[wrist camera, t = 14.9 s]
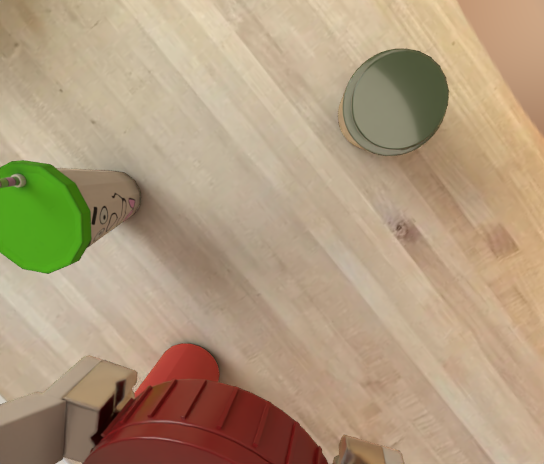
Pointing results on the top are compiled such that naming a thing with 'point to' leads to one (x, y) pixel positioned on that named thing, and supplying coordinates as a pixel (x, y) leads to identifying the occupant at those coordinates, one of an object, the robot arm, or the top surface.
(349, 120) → the jar
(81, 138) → the top surface
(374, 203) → the top surface
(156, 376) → the beer can
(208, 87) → the top surface
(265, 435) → the lid
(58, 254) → the cup
